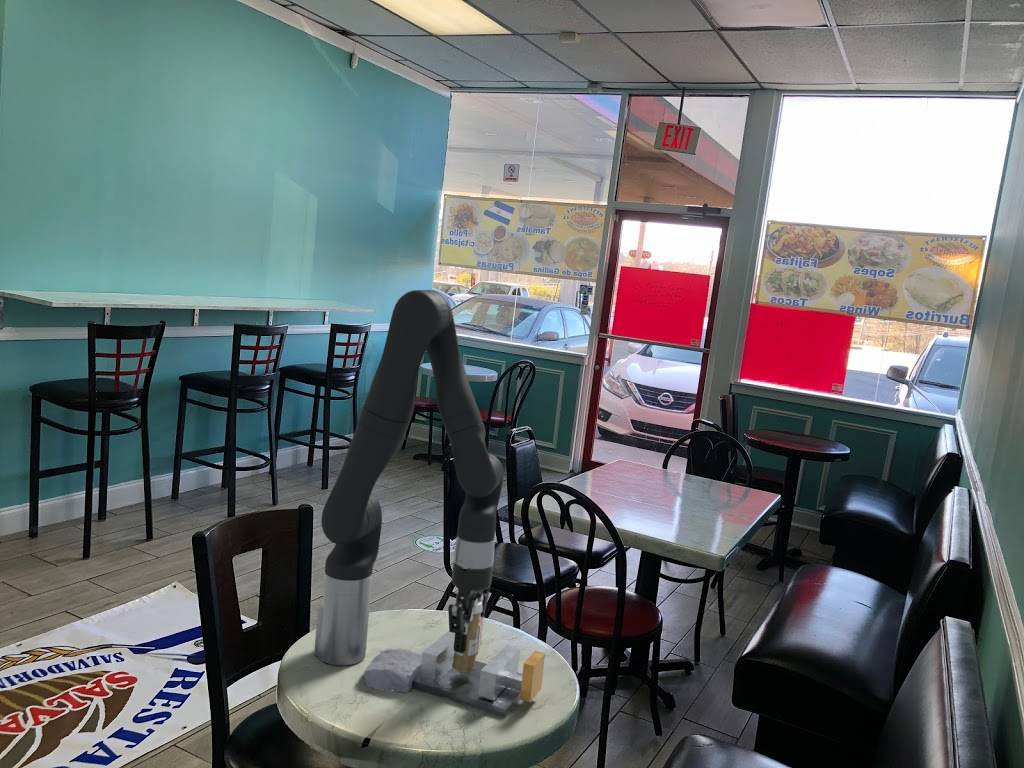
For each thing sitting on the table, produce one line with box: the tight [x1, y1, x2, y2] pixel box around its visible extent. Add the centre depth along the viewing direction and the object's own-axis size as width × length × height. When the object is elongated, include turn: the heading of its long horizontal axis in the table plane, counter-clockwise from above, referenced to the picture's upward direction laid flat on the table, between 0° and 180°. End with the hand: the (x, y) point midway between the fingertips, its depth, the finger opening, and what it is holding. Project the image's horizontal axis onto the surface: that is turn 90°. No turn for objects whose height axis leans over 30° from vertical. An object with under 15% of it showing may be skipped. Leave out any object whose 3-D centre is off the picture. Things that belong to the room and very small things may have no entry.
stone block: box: [363, 647, 422, 694], centre depth 156 cm, size 12×5×10 cm
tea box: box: [476, 616, 485, 656], centre depth 171 cm, size 4×7×10 cm, turn 175°
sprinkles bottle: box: [452, 601, 482, 673], centre depth 154 cm, size 5×5×14 cm
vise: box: [411, 630, 523, 718], centre depth 154 cm, size 19×14×7 cm
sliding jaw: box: [478, 645, 546, 703], centre depth 151 cm, size 9×12×7 cm
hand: (465, 646), depth 155 cm, fingers closed on sprinkles bottle, 4 cm apart
